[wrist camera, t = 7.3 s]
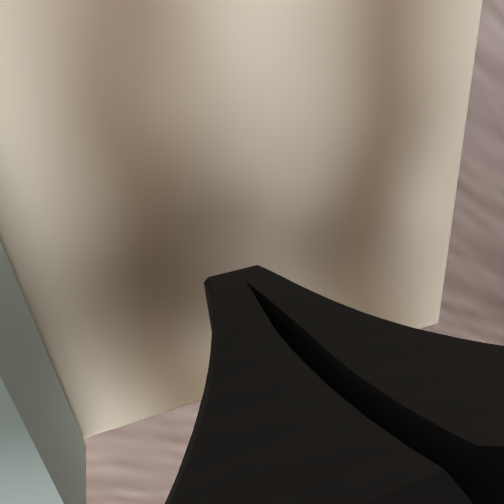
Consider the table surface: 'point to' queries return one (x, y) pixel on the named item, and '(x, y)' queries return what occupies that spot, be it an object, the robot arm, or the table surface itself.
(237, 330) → the robot arm
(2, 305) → the stool leg
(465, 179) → the table surface
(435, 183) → the stool seat
